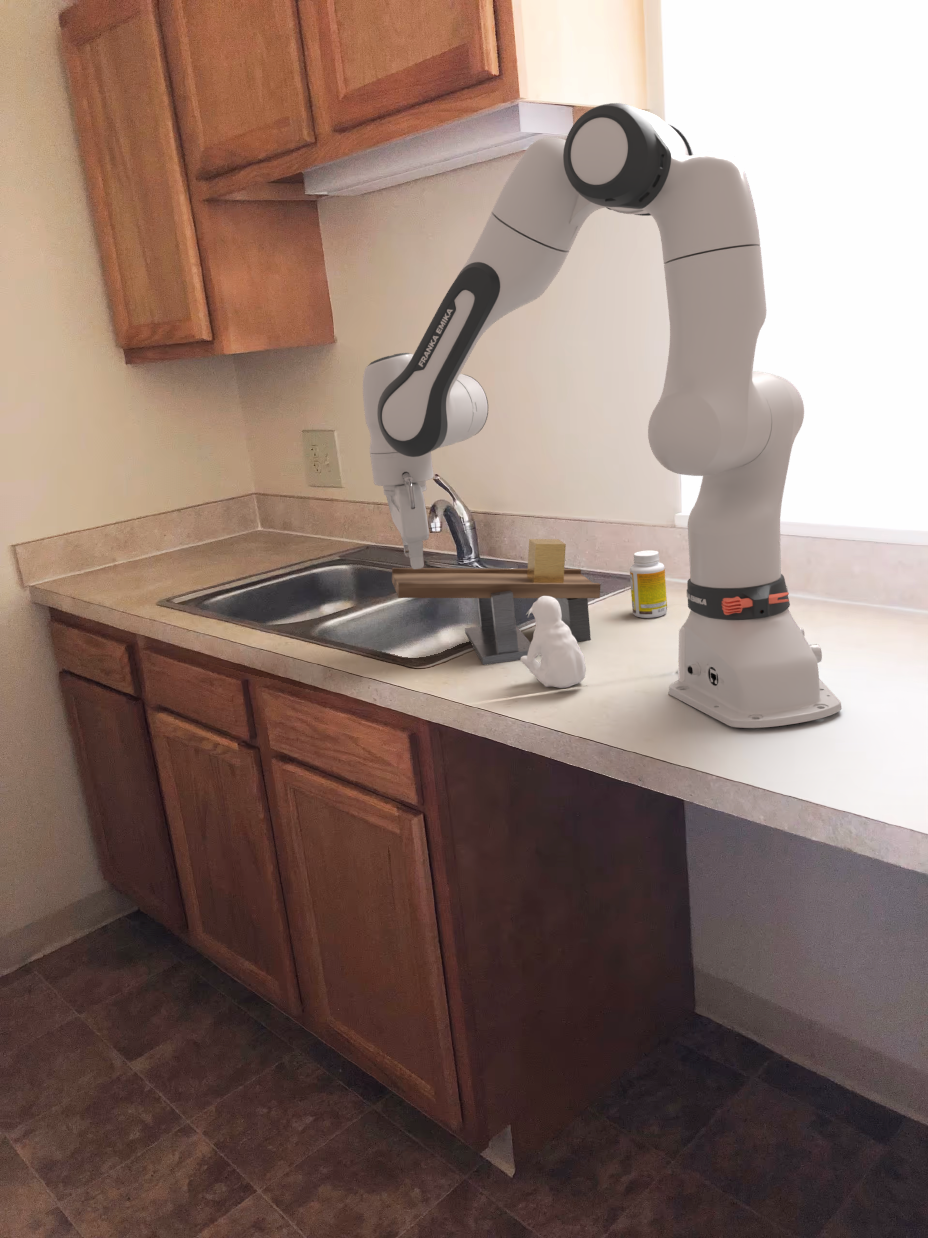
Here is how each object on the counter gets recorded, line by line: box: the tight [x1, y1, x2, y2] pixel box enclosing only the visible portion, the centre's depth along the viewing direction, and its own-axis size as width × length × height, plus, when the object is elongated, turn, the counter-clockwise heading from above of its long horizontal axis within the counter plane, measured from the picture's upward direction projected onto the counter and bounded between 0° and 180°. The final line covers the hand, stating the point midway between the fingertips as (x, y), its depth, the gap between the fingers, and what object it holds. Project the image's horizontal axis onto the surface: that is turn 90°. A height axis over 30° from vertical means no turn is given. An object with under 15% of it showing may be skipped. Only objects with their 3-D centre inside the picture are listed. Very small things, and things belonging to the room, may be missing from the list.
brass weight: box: [527, 538, 566, 583], centre depth 153 cm, size 5×5×6 cm
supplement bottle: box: [629, 549, 668, 619], centre depth 162 cm, size 6×6×10 cm
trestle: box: [464, 591, 592, 666], centre depth 154 cm, size 17×18×10 cm
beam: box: [391, 567, 601, 599], centre depth 153 cm, size 12×30×3 cm, turn 99°
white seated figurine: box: [520, 596, 587, 689], centre depth 134 cm, size 6×8×12 cm
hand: (414, 561), depth 150 cm, fingers open, 8 cm apart
